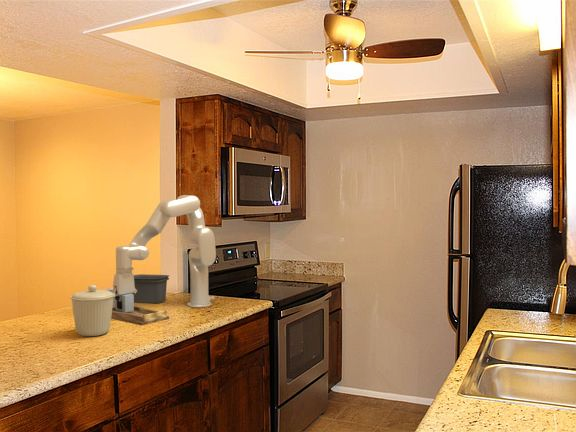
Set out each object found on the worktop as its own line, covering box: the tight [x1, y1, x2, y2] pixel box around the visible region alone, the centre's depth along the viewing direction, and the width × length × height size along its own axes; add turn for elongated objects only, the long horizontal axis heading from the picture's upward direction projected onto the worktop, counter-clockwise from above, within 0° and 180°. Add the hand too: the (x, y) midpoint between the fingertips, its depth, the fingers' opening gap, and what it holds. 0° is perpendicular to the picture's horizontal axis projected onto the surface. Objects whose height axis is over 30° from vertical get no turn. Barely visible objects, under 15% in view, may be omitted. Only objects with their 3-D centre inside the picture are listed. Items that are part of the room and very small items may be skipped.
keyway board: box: [111, 305, 170, 326], centre depth 264 cm, size 16×30×4 cm, turn 54°
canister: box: [69, 284, 115, 337], centre depth 233 cm, size 18×18×21 cm
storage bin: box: [133, 273, 170, 304], centre depth 303 cm, size 21×16×14 cm
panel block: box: [115, 294, 135, 312], centre depth 269 cm, size 5×8×8 cm, turn 54°
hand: (124, 307), depth 269 cm, fingers closed on panel block, 5 cm apart
